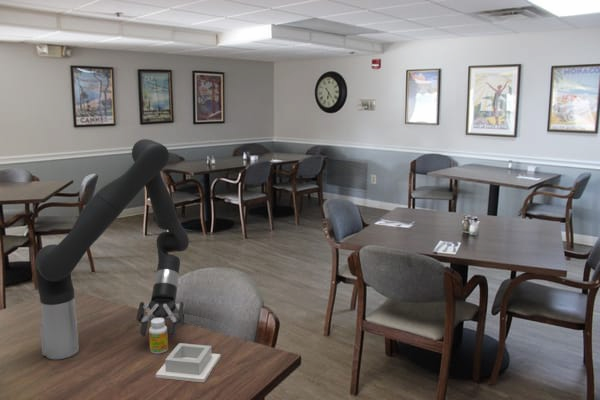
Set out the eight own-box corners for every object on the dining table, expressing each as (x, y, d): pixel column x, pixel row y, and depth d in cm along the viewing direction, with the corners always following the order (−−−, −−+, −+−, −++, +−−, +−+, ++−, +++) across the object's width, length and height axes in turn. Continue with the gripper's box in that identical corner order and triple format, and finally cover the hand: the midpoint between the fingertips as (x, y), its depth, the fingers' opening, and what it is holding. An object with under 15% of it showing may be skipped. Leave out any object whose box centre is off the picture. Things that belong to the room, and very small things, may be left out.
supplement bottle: (149, 355, 153) (148, 325, 151) (150, 346, 158) (148, 317, 156) (168, 352, 154) (167, 323, 152) (168, 344, 159) (166, 315, 158)
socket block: (155, 377, 141) (155, 362, 140) (176, 353, 154) (175, 339, 153) (203, 382, 138) (203, 367, 138) (220, 357, 152) (220, 343, 151)
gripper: (140, 281, 160) (130, 331, 151) (185, 281, 160) (178, 331, 151) (146, 291, 166) (137, 339, 157) (189, 291, 166) (183, 339, 158)
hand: (157, 335), depth 154 cm, fingers open, 8 cm apart
